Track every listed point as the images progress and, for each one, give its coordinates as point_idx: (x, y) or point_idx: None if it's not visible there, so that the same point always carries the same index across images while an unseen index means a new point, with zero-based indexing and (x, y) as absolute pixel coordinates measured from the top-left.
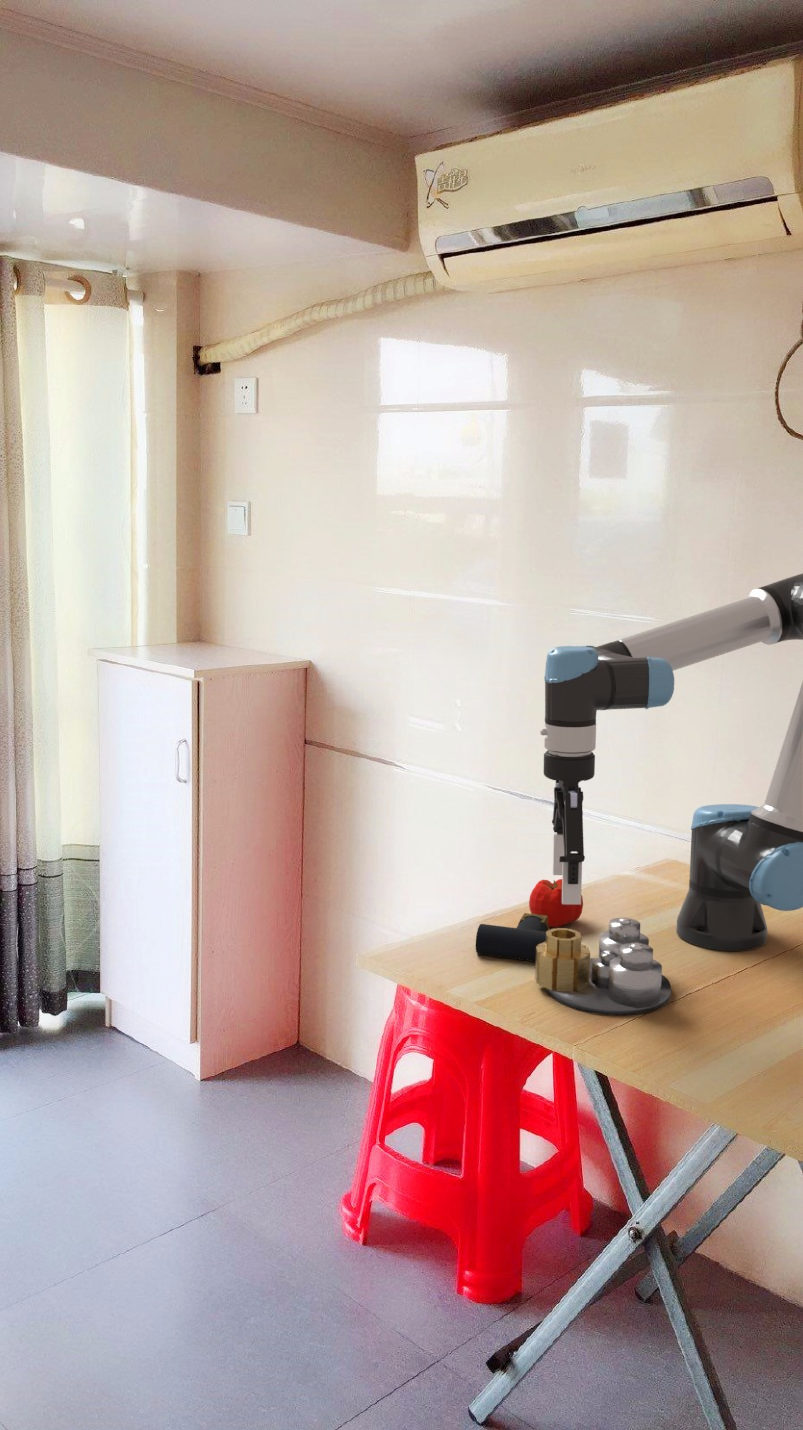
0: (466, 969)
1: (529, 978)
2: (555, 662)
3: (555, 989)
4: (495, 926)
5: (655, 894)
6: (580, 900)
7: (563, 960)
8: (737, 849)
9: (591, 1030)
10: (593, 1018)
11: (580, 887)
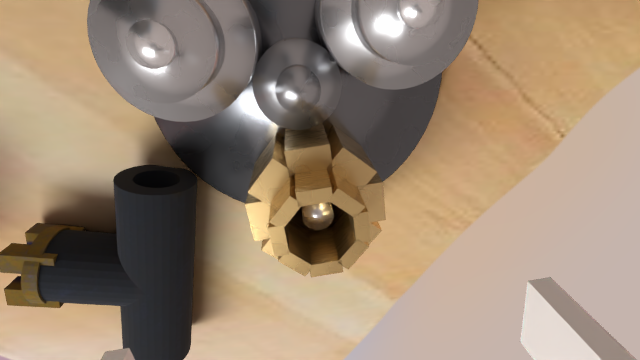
0: (259, 331)
1: None
2: None
3: None
4: (145, 348)
5: None
6: (565, 292)
7: (384, 205)
8: None
9: (503, 107)
10: (449, 105)
11: (617, 346)
